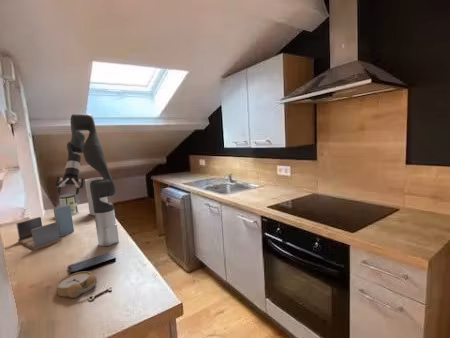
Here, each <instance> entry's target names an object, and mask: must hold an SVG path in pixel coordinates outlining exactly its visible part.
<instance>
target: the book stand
mask: <svg viewBox="0 0 450 338" xmlns="http://www.w3.org/2000/svg"><path fill="white" fill-rule="evenodd" d="M61 240H62V239H61V238H60V237H59V239H57V240H54V241H51V242H48V243H46V244H43V245H40V246H37V247H34V242H33V236H30V237H27V238H24V239H21V240H20V239H19V238H18V239H17V241H18V243H19V244H21V245H24V246H25V247H28V248H29V249H31V250H34V251H38V250H39V249H42V248H45V247H47V246H51V245H53V244H56V243H59V242H61Z"/></svg>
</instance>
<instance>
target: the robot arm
mask: <svg viewBox="0 0 450 338" xmlns="http://www.w3.org/2000/svg"><path fill="white" fill-rule="evenodd" d="M93 117H94V116H93V115H92V114H91V113H73V114H71V116H70V132H71V139H70V140H69V141H68V142H67V143H66V150H67V161H66V163H65V164H66V165H65V168H64V169H65V170H64V175H63V177H61V176H57V178H56V181H55V188H58V189H57V193H58V194H59V195H62V190H63V188H64V187H65V186H66V185H67V186H75V187H76V188H75V194H76V196H78V195H79V193H80V189H84V183H85V179H84V178H83V177H81V178H79V177H80V171H81V169H80V168H81V160H82V156H81V155H80V154H83V157H84V161H85V162H86V163H87V164H88V165H89V166H90V167H91V168H92V169H94V170H96V171H97V172H98V174H99V175H100V176H101V177H103V179H99V180H93V181H91V182H90V191H91V196H92V201H93V208H94V215H93V216H94V220H95V221H94V222H95V229H96V234H97V235H96V236H97V241H98V242H97V243H98V246H99V247H100V246H101V247H110V246H112V245H114V244H116V243H119V241H120V239H119V231H118V225H117V222H116V221H117V220H116V213H115V206H114V203H112V202H110V201H109V202H103V201H101V200H100V198H103V197H107V198H108V197H112V196H114V195H115V194H116V185H115V183H114V180H113V177H112V175H111V172H110V171H109V168H108V165H107V161H106V158H105V154H104V152H103V148H102V144H101V142H100V140H99V137H98V133H97V129H96V128H97V127H96V125H95V119H94V118H93ZM83 131H88V136H87V138H86V137H85V133H83ZM60 182H61V183H60ZM78 182H79V183H80V185H79V184H78Z"/></svg>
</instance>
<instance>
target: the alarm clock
mask: <svg viewBox="0 0 450 338" xmlns="http://www.w3.org/2000/svg"><path fill="white" fill-rule="evenodd" d="M97 283H98V279H97V276H96V275H94V274H92V272H91V271H88V270H87V271H86V270H84V271H77V272H75V273H71V274H69V275H67V276H65V277H63V278H61V279H60V280H59V281H58V282H57V283H56V285H55V286H56V291H57V295H58V296H60V297H63V298H64V297H68V298H70V299H75V297H76V298H77V297H79V296H81V294H83V293H86V292H88V291H90V290H92V289H93V288H95V286H96V285H97Z"/></svg>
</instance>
